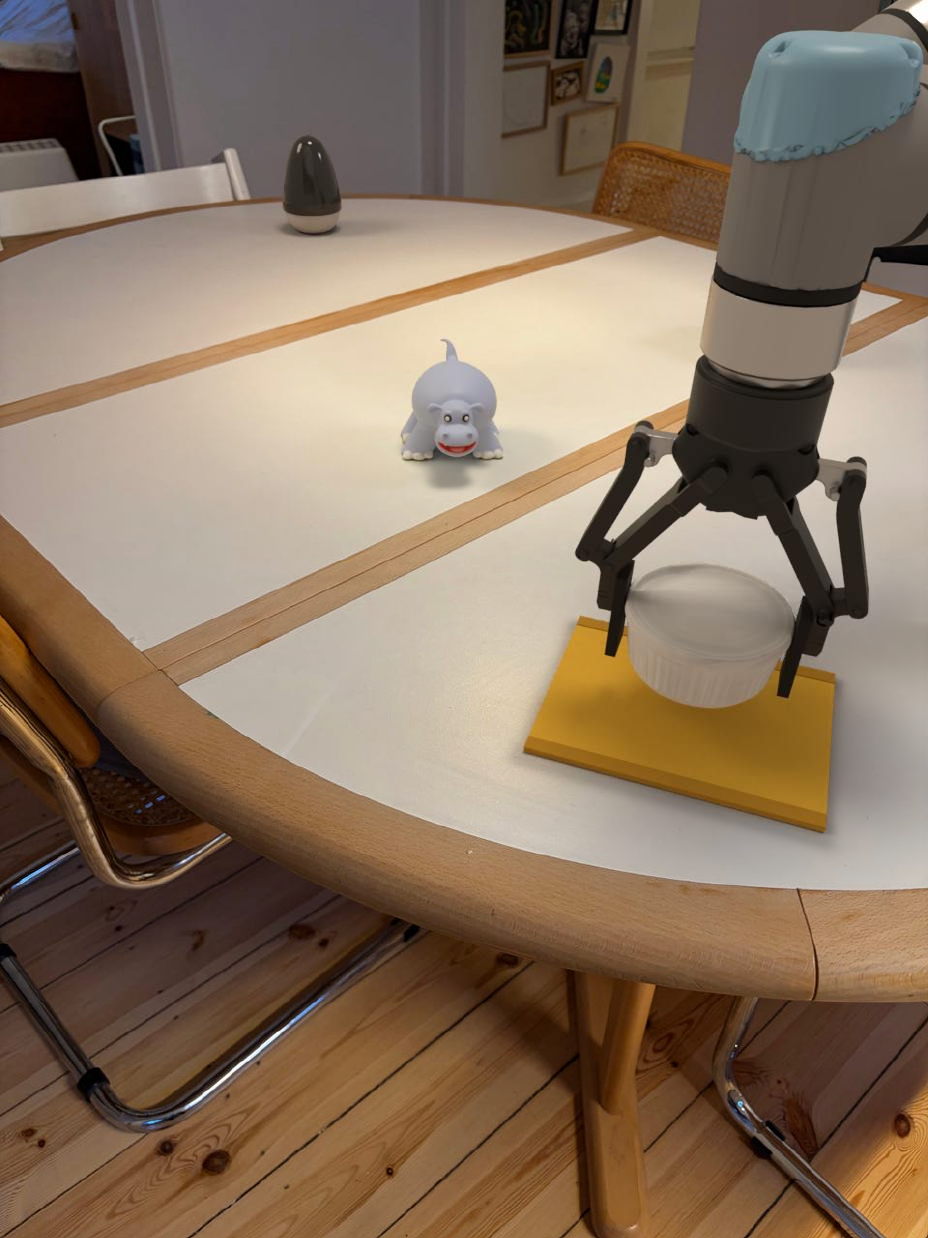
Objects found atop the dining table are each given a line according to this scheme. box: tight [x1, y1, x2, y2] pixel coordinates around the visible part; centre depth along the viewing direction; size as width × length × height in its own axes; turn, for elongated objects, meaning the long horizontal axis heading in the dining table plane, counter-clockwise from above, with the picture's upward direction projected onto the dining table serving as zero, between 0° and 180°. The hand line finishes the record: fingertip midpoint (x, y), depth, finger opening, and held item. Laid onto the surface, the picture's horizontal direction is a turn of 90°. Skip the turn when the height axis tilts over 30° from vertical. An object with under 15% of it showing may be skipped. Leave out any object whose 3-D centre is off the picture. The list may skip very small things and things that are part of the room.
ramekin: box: [625, 561, 796, 708], centre depth 64 cm, size 11×11×5 cm
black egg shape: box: [282, 133, 343, 235], centre depth 161 cm, size 10×10×15 cm
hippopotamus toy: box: [400, 338, 504, 461], centre depth 97 cm, size 11×15×10 cm
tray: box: [522, 615, 837, 833], centre depth 68 cm, size 20×16×1 cm
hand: (696, 664), depth 65 cm, fingers closed on ramekin, 11 cm apart
